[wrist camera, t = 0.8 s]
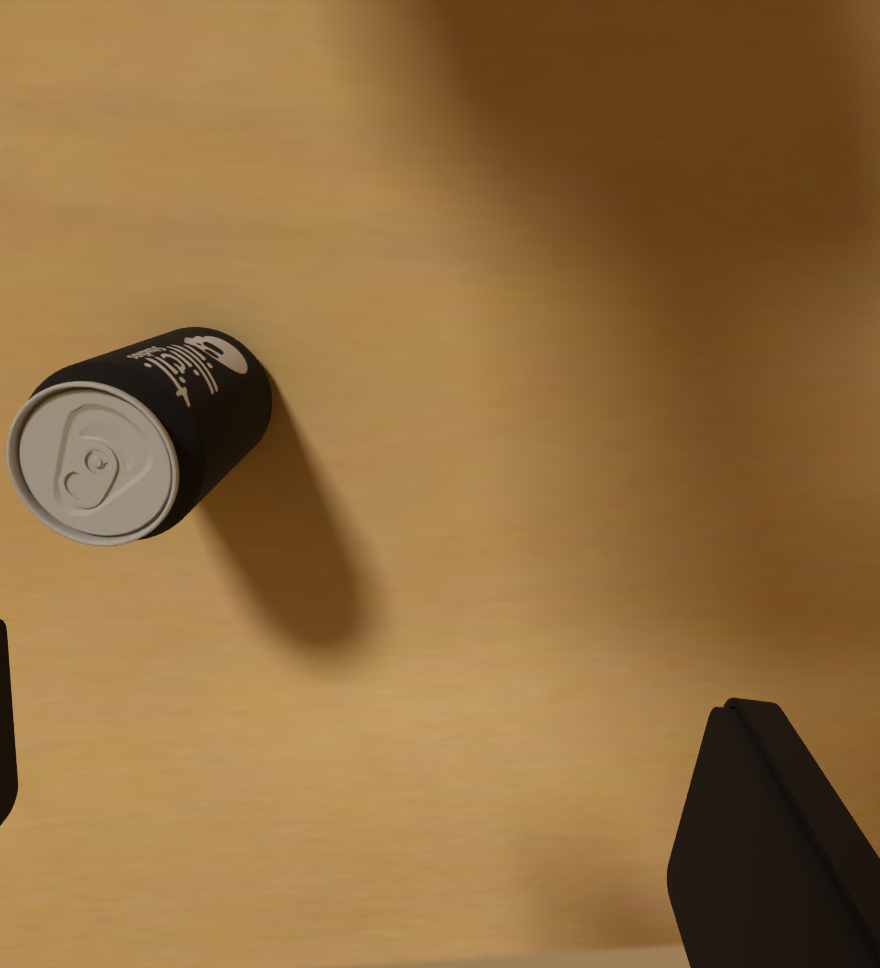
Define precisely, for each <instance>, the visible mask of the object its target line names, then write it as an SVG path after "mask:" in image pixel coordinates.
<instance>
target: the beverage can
mask: <svg viewBox="0 0 880 968" xmlns="http://www.w3.org/2000/svg"><path fill="white" fill-rule="evenodd" d="M271 409H272V397H271V390H270V385H269V382H268V379H267V376H266V374H265V372H264V370H263V368H262V366H261V365H260V363H259V361H258V360H257V359H256V357H255V356H254V355H253V354H252V353H251V352H250V351H249V350H248V349H247V348H246V347H245V346H244V345H243V344H241V343H240V342H239V341H237V340H236V339H234V338H233V337H231V336H229V335H227V334H225V333H222V332H220V331H217V330H213V329H209V328H202V327H188V328H181V329H177V330H174V331H171V332H168V333H165V334H162V335H159V336H156V337H153V338H150V339H147V340H144V341H141V342H138V343H136V344H133V345H130V346H127V347H124V348H121V349H118V350H115V351H112V352H109V353H106V354H103V355H100V356H97V357H94V358H91V359H88V360H85V361H82V362H79V363H76V364H73V365H70V366H68V367H65V368H63V369H61V370H59V371H57V372H55V373H54V374H52V375H51V376H49V377H48V378H47V379H46V380H44V381H43V382H42V383H41V384H40V385H39V386H38V387H37V388H36V390H35V391H34V392H33V394H32V395H31V397H30V398H29V400H28V401H27V402H26V403H25V404H24V405H23V406H22V408H21V409H20V410H19V412H18V413H17V415H16V416H15V418H14V420H13V422H12V424H11V427H10V430H9V434H8V438H7V445H6V459H7V466H8V471H9V474H10V477H11V481H12V483H13V485H14V488H15V490H16V492H17V494H18V495H19V497H20V499H21V500H22V502H23V503H24V504H25V506H26V507H27V508H28V510H29V511H30V512H31V513H32V514H33V515H34V516H35V517H36V518H37V519H38V520H39V521H40V522H42V523H43V524H44V525H45V526H47V527H48V528H49V529H51V530H52V531H54V532H56V533H58V534H59V535H61V536H63V537H65V538H68V539H70V540H73V541H75V542H79V543H82V544H87V545H92V546H117V545H122V544H126V543H130V542H133V541H136V540H141V539H147V538H150V537H153V536H156V535H159V534H161V533H163V532H165V531H167V530H169V529H170V528H172V527H173V526H175V525H176V524H177V523H179V522H180V521H181V520H182V519H183V518H184V517H185V516H186V515H187V514H188V513H189V512H190V511H191V510H192V509H193V508H194V507H195V506H196V505H197V504H198V503H199V502H200V501H201V500H202V499H203V498H204V497H205V496H206V495H207V494H208V493H209V492H210V491H211V490H212V489H213V488H214V487H215V486H216V485H217V484H218V483H219V482H220V481H221V480H222V479H223V478H224V477H225V476H226V475H227V474H228V473H229V472H230V471H231V470H232V469H233V468H234V467H235V466H236V465H237V464H238V463H239V462H240V461H241V460H242V459H243V458H244V457H245V456H246V454H247V453H248V452H249V451H250V450H251V449H252V448H253V447H254V446H255V445H256V444H257V443H258V442H259V441H260V439H261V438H262V436H263V435H264V433H265V431H266V429H267V426H268V424H269V420H270V416H271Z"/></svg>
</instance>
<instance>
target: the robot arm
mask: <svg viewBox="0 0 880 968" xmlns="http://www.w3.org/2000/svg"><path fill="white" fill-rule="evenodd" d="M17 792H18V776H17V763H16V749H15V735H14V722H13V708H12V694H11V681H10V667H9V653H8V640H7V629H6V625H5V623H4V621H3V620H1V619H0V825H1V824H2V823H3V822H4V820H5V819H6V818H7V816H8V815H9V813H10V812H11V810H12V808H13V805H14V803H15V800H16V797H17ZM667 887H668V894H669V898H670V901H671V905H672V908H673V911H674V915H675V918H676V921H677V925H678V928H679V931H680V934H681V938H682V941H683V944H684V947H685V951H686V954H687V958H688V961H689V964H690V967H691V968H880V858H879V857H878V855H877V854H876V852H875V851H874V849H873V848H872V846H871V845H870V843H869V842H868V840H867V839H866V837H865V836H864V834H863V833H862V831H861V830H860V828H859V826H858V825H857V823H856V822H855V820H854V819H853V817H852V816H851V814H850V813H849V811H848V810H847V808H846V807H845V805H844V804H843V802H842V801H841V799H840V798H839V796H838V795H837V793H836V791H835V790H834V788H833V787H832V785H831V784H830V782H829V781H828V779H827V778H826V776H825V775H824V773H823V772H822V770H821V769H820V767H819V766H818V764H817V763H816V761H815V760H814V758H813V756H812V755H811V753H810V752H809V750H808V749H807V747H806V746H805V744H804V743H803V741H802V740H801V738H800V737H799V735H798V734H797V732H796V731H795V729H794V728H793V726H792V725H791V723H790V721H789V720H788V718H787V717H786V715H785V714H784V712H783V711H782V709H781V708H780V707H779V706H778V705H777V704H775V703H772V702H764V701H756V700H748V699H740V698H730V699H728V700H727V702H726V703H725V704H724V707H723V708H722V707H715V708H713V709H712V711H711V712H710V715H709V718H708V722H707V725H706V729H705V732H704V736H703V740H702V743H701V747H700V751H699V754H698V758H697V761H696V765H695V769H694V772H693V776H692V780H691V783H690V787H689V791H688V794H687V798H686V801H685V805H684V809H683V812H682V816H681V820H680V823H679V827H678V831H677V834H676V838H675V841H674V845H673V849H672V852H671V856H670V860H669V863H668V869H667Z"/></svg>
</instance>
